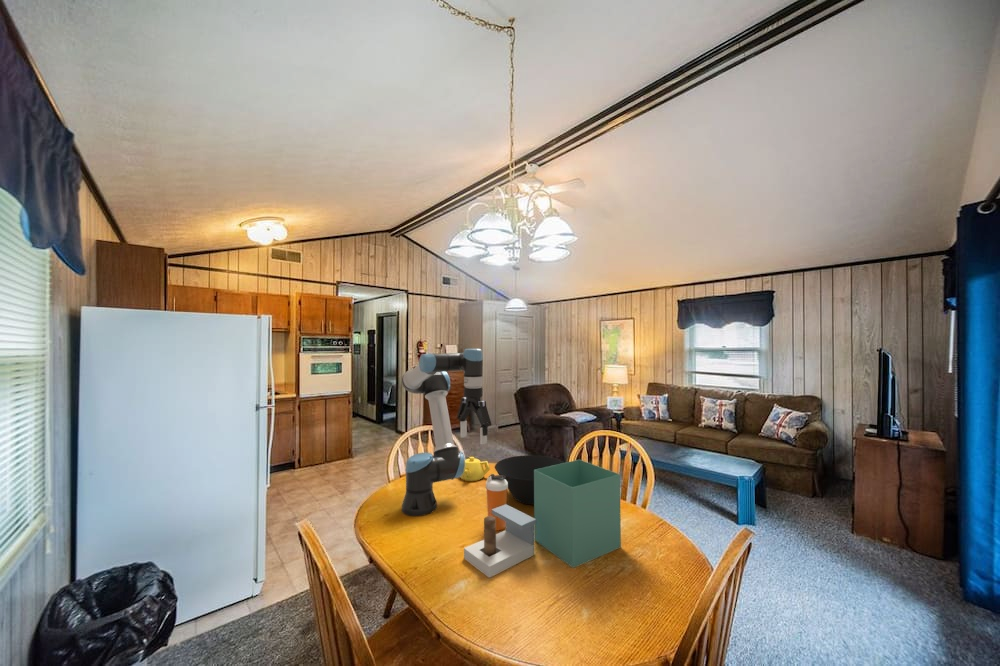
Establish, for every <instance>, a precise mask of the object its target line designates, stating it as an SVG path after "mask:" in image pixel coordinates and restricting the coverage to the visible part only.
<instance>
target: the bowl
mask: <svg viewBox="0 0 1000 666" xmlns="http://www.w3.org/2000/svg"><path fill="white" fill-rule="evenodd" d="M562 463H566V462H565V461H564V460H561V459H559V458H555V457H550V456H544V455H534V454H533V455H531V454H530V455H528V454H527V455H516V456H510V457H506V458H504V459H501V460H499V461H497V462H496V463H495V465H494V470H495V471H496V473H497V475H504V476H506V478H505V479H506V481H507V482H508V488H507V490H509V492H510V494H511V495H512V497H513V498H514V499H515V500H516V501H518V502H519V503H522V504H526V505H534V470H536V469H540V468H545V467H549V466H553V465H558V464H562Z"/></svg>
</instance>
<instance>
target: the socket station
mask: <svg viewBox="0 0 1000 666" xmlns="http://www.w3.org/2000/svg"><path fill="white" fill-rule="evenodd" d="M492 514H493V515H495V516H497V517H499V518H500V519H502V520H504V521H506V527H505V530H503V531H500V532H498V533H496V554H494V555H492V556H490V557H489V556H487V555H486V554H484V539H482V540H480V541H479V540H478V541H477V542H475V543H473V544H471V545H470V544H469V545H467V546H465V547H463V559H464V560H465V561H466V562H468V563H470V565H472V566H473V567H475V569H477V570H478V571H480V572H481V573H483V575H485V576H486V577H488V579H490V578H492V577H494V576H495V575H498V574H500V573H502V572H504V571H505V570H507V569H509V568H512V567H513V566H515V565H517V564H520V563H522V561H526V559H528V558H531V557H533V556H534V555H535V540H534V524H536V519H535V518H534V516H530V515H528V514H527V513H525V512H523V511H520V510H518V509H517V508H515V507H512V506H510V505H508V503H507V504H505V505H502V506H500V507H497V508H494V509H492Z"/></svg>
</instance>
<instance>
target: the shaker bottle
mask: <svg viewBox="0 0 1000 666" xmlns="http://www.w3.org/2000/svg"><path fill="white" fill-rule="evenodd" d="M505 478H506V476H504V475H499V474H494V473H491V474H490V475H489V476H487V479H486V482H485V489H486V506H487V507H486V508H487V517H488V516H492V517H495V518H496V531H502V530H504V529H506V521H504V520H502V519H500V518H499V517H497V516H495V515H493V514H492V509H494V508H497V507H500V506H502V505H505V504H507V505H508V503H507V502H508V482H507V481H506V479H505Z"/></svg>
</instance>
